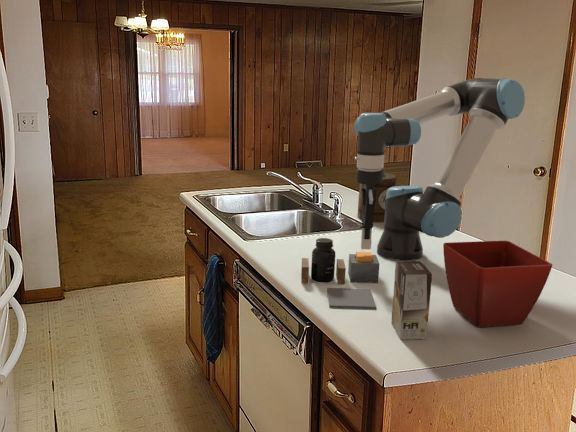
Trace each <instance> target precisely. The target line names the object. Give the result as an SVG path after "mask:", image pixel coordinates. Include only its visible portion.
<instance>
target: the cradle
mask: <svg viewBox="0 0 576 432" xmlns="http://www.w3.org/2000/svg"><path fill="white" fill-rule="evenodd" d="M309 259H310V258H309V257H302V258H301V270H300V271H301V274H300V275H301V276H300V277H301V280H300V281H301V283H300V284H302V285H309V277H310V276H309V275H310V260H309ZM335 268H336V269H335V277H336V282H337V285H339V286H345V285H346V272H347V271H346V264H345V260H344V258H336V264H335Z"/></svg>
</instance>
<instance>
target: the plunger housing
mask: <svg viewBox="0 0 576 432" xmlns="http://www.w3.org/2000/svg"><path fill="white" fill-rule="evenodd" d="M372 256H373V261H372V262H359V261H356V253H354V254H353V253H349V254H348V266H347V267H348V268H347V269H348V270H347V273H348V277H349V282H350V283H354V284H379V276H380V275H379V274H380V262H379V259H378V256H377V255H376V254H372Z"/></svg>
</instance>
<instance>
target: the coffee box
mask: <svg viewBox="0 0 576 432" xmlns="http://www.w3.org/2000/svg"><path fill="white" fill-rule="evenodd" d="M394 267H395V270H394V282H393V296H392V297H393V298H392V311H391V312H392V313H391V325H392V327H393V329H394V330H395V332H396V334H397V335H398V337H399V339H400V340H426V339H427V335H428V323H429V315H430V313H429V312H430V304H431V290H432V281H433V280H432V279H433V273H432V272H431V271H430V270H429V268H428V267H427V266H425V264H424V263H423V262H422V261H421V260H408V261H403V260H395V266H394Z"/></svg>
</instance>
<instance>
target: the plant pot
mask: <svg viewBox="0 0 576 432" xmlns="http://www.w3.org/2000/svg"><path fill="white" fill-rule="evenodd" d="M442 245H443V248H442V249H443V260H444V270H445V277H446V281H447V287H448V290H449V296H450V299H451V303H452V306H453V308H454V309H455V310H457V311H458V312H459V313H460V314H461V315H462V316H463V317H464V318H466V319H467V320H468V321H469V322H470V323H471V324H473V325H474V326H475V327H478V328H485V327H488V328H490V327H503V326H504V327H505V326H514V325H515V326H517V325H523V324H524V322H525V321H526V319H527V318H528V317H529V315H530V313H531V311H532V310H533V309H534V307H535V305H536V304H537V302H538V300H539V298H540V296H541V294H542V292H543V290H544V288H545V286H546V283H547V281H548V278H549V276H550V273H551V271H552V267H553V263H551V262H549V261H547V260H546V259H544V258H541V257H540V256H538V255H536V254H534V253H532V252H530V251H528V250H527V249H524V248H522V247H521V246H519V245H517V244H515V243H513V242H511V241H509V240H486V241H485V240H484V241H483V240H482V241H457V242H456V241H454V242H452V241H451V242H444V243H443V244H442Z"/></svg>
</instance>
